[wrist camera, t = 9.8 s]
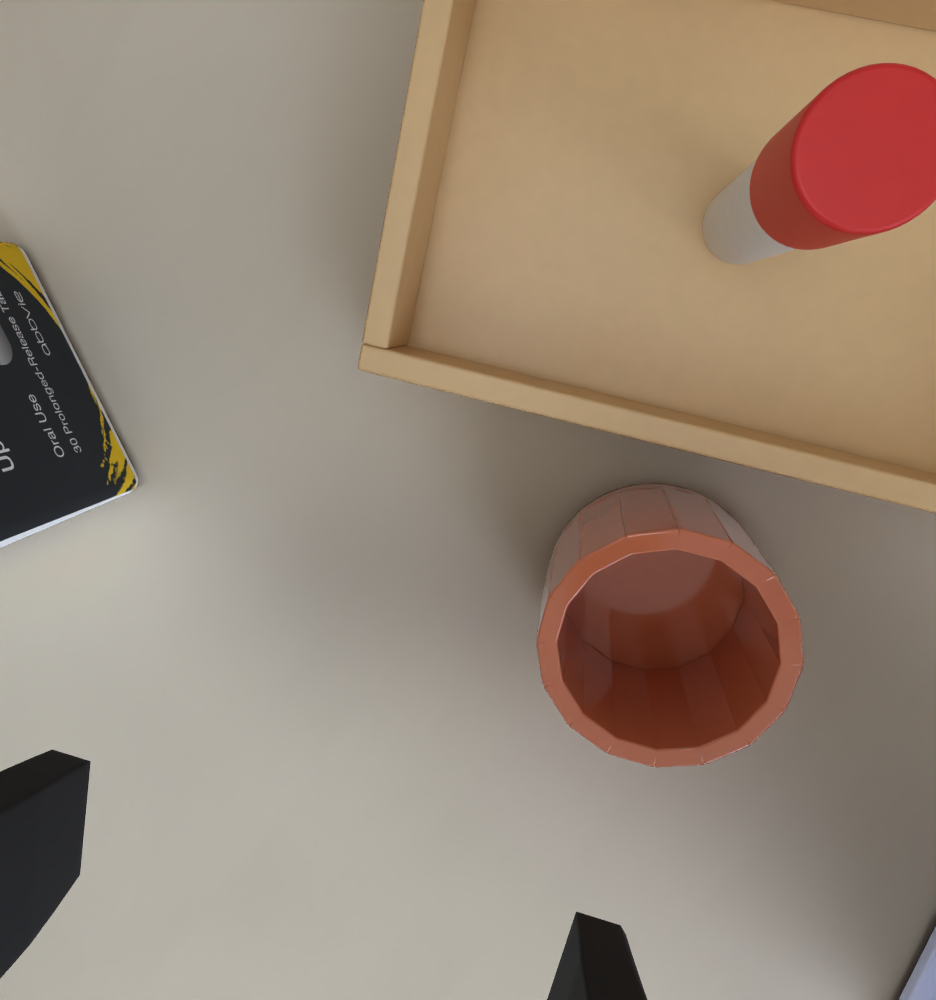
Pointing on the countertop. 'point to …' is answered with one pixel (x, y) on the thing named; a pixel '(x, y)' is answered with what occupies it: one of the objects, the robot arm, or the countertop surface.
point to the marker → (834, 169)
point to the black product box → (48, 415)
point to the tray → (653, 236)
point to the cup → (665, 629)
